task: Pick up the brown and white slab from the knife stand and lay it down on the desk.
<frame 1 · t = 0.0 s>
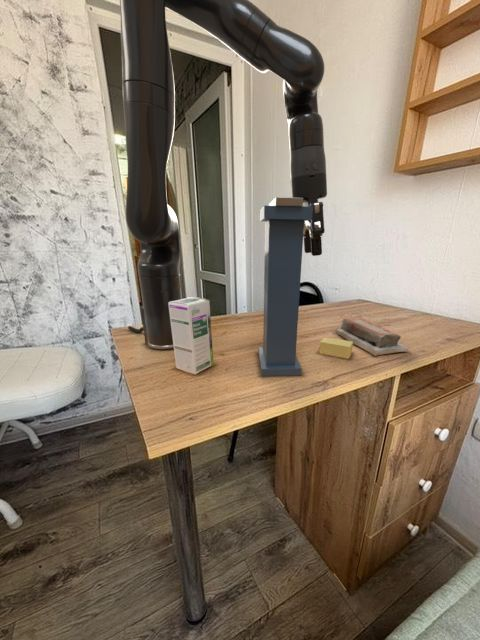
hand: (312, 253, 69), 22 cm above the table, tool pointing down, fingers open, 8 cm apart
packaged product: (368, 342, 79), on the table
syrup box: (194, 367, 63), on the table
brown and white slab: (279, 210, 59), point 31 cm above the table, touching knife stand
butter block: (335, 353, 71), on the table
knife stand: (277, 363, 65), on the table
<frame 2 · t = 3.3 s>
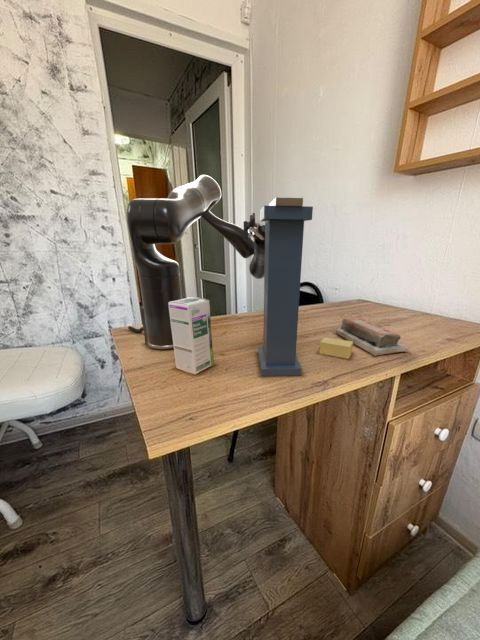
hand: (269, 216, 81), 31 cm above the table, tool pointing upward, fingers open, 8 cm apart
nothing on the table moved.
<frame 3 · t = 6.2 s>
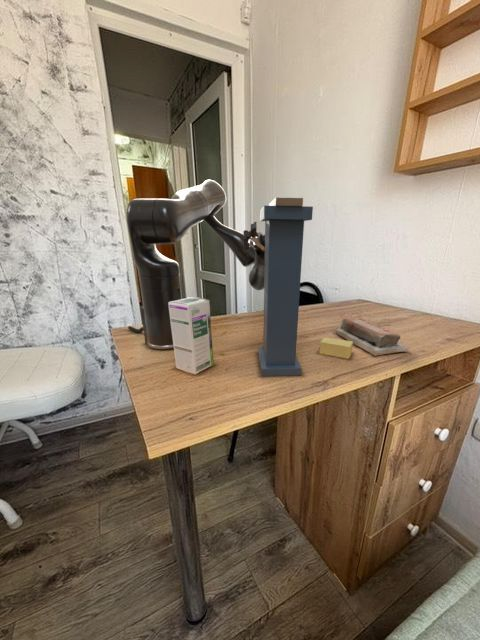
hand: (272, 225, 73), 29 cm above the table, tool pointing upward, fingers open, 8 cm apart
nothing on the table moved.
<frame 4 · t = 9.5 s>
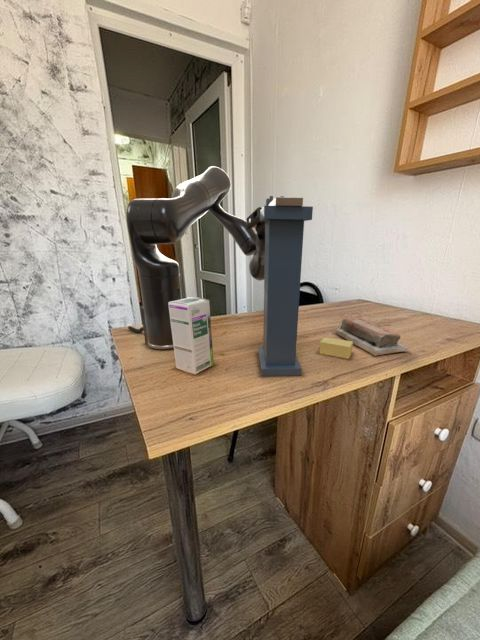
hand: (277, 200, 63), 33 cm above the table, tool pointing upward, fingers closed on brown and white slab, 2 cm apart
brown and white slab: (279, 210, 59), point 31 cm above the table, touching gripper, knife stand
everything else where it was.
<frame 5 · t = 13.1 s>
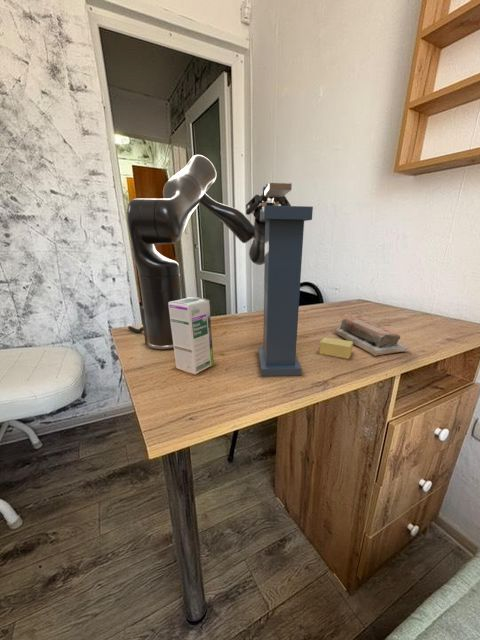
hand: (271, 187, 73), 37 cm above the table, tool pointing upward, fingers closed on brown and white slab
brown and white slab: (273, 196, 70), point 35 cm above the table, touching gripper
everything else where it was.
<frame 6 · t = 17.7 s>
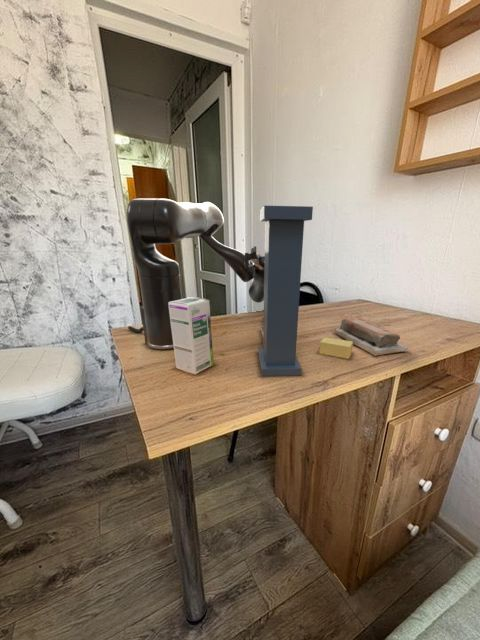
hand: (268, 249, 83), 22 cm above the table, tool pointing upward, fingers open, 7 cm apart
brown and white slab: (268, 331, 86), on the table
everything else where it was.
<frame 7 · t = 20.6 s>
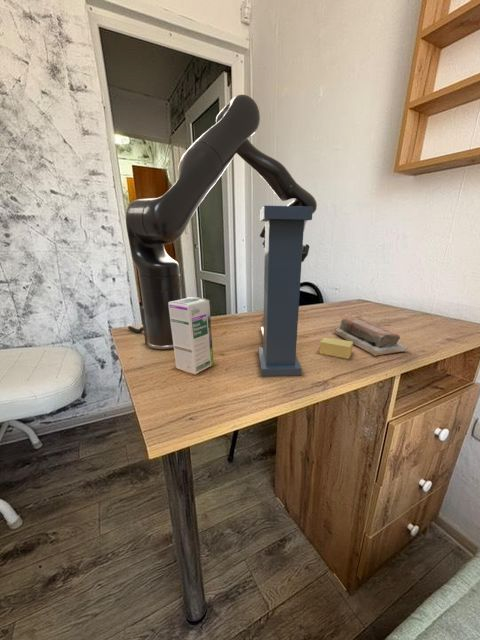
hand: (279, 253, 78), 22 cm above the table, tool tilted 65°, fingers open, 8 cm apart
nothing on the table moved.
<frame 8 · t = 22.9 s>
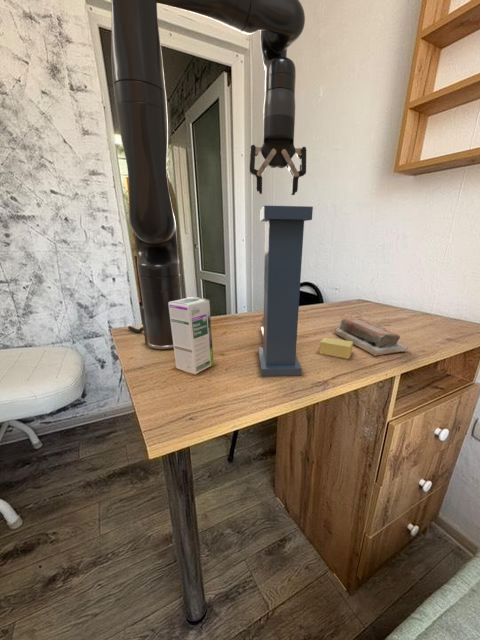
hand: (276, 194, 76), 36 cm above the table, tool pointing down, fingers open, 8 cm apart
nothing on the table moved.
at the end: brown and white slab inside the target area (2.1 cm from its centre), on the table; the gripper is holding nothing; brown and white slab touching table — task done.
